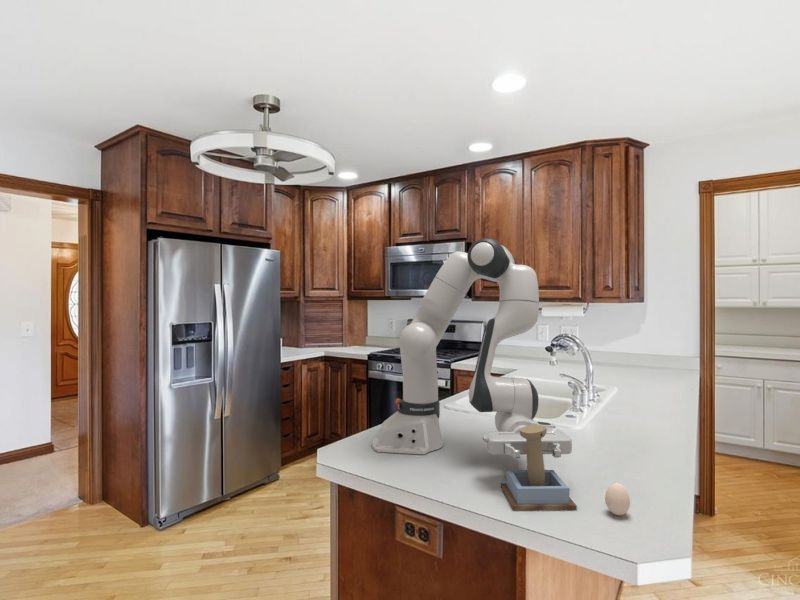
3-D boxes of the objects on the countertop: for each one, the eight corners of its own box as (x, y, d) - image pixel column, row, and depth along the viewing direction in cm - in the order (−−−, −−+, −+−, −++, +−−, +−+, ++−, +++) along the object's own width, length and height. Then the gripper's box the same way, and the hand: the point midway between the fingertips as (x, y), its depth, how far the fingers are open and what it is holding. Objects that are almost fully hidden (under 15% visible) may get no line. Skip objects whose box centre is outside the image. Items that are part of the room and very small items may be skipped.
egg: (608, 506, 101) (608, 477, 100) (632, 513, 98) (632, 482, 97) (602, 515, 97) (602, 484, 97) (626, 522, 94) (626, 490, 94)
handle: (519, 492, 106) (515, 429, 106) (538, 484, 109) (534, 423, 109) (535, 500, 102) (531, 434, 101) (554, 491, 105) (550, 428, 105)
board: (512, 510, 99) (512, 506, 99) (500, 487, 111) (500, 483, 111) (576, 510, 99) (576, 505, 99) (557, 486, 111) (557, 482, 111)
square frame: (517, 504, 100) (517, 488, 100) (506, 484, 110) (506, 470, 110) (569, 504, 100) (569, 488, 100) (553, 484, 110) (553, 469, 110)
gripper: (481, 423, 118) (492, 441, 104) (559, 423, 118) (581, 440, 104) (481, 447, 118) (492, 468, 104) (559, 447, 118) (581, 467, 104)
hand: (537, 454), depth 104 cm, fingers open, 8 cm apart
